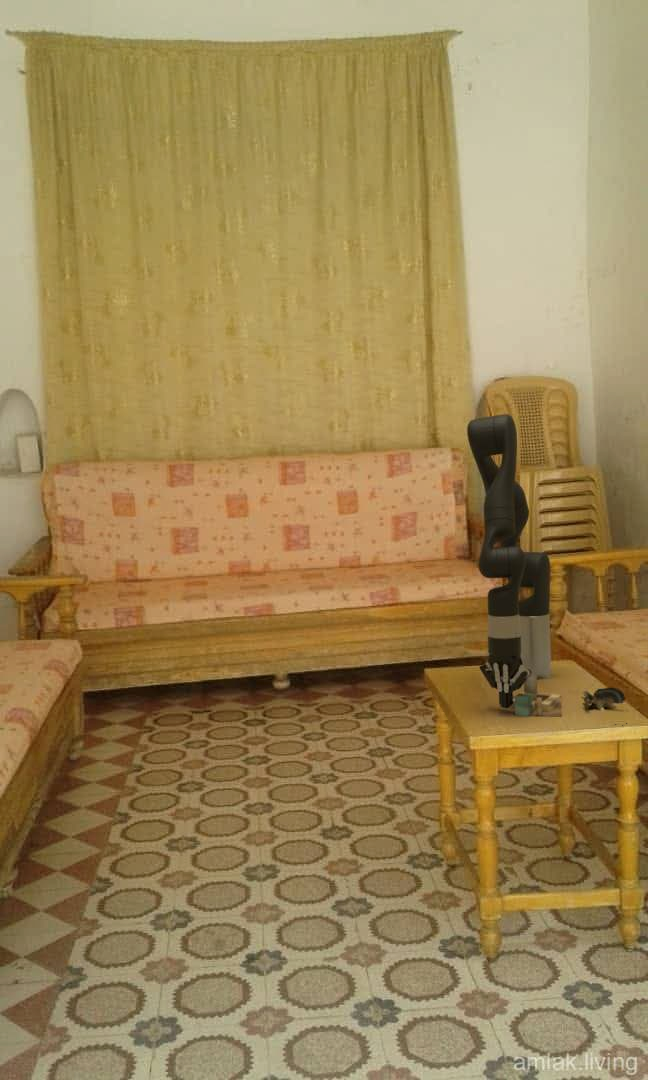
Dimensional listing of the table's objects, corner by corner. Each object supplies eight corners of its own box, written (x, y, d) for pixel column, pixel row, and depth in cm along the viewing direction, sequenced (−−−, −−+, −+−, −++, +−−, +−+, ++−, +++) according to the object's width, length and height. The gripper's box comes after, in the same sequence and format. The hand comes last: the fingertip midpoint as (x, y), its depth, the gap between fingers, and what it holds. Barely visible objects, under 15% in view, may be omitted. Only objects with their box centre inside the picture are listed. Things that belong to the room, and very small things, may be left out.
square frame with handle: (525, 698, 253) (524, 680, 252) (561, 702, 248) (561, 683, 247) (502, 713, 241) (502, 695, 240) (540, 718, 236) (539, 699, 236)
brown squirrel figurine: (590, 716, 236) (629, 707, 236) (580, 686, 239) (619, 677, 239) (587, 725, 243) (625, 716, 243) (577, 696, 246) (615, 687, 246)
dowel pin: (537, 714, 239) (536, 697, 238) (542, 714, 239) (541, 697, 238) (536, 716, 238) (536, 698, 237) (542, 716, 237) (541, 699, 237)
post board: (502, 700, 256) (501, 667, 255) (561, 700, 253) (560, 667, 252) (499, 721, 240) (498, 686, 239) (562, 721, 237) (561, 686, 236)
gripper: (470, 633, 242) (473, 706, 244) (520, 639, 233) (523, 715, 235) (488, 627, 248) (490, 699, 250) (538, 633, 239) (539, 707, 241)
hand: (506, 707), depth 242 cm, fingers closed
